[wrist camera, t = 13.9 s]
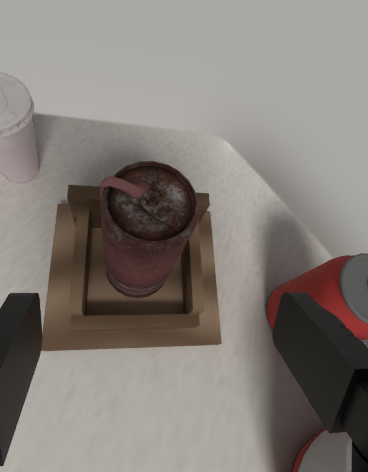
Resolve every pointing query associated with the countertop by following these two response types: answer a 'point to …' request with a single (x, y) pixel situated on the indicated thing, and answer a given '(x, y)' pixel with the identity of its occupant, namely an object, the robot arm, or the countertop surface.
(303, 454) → the citrus juicer
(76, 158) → the countertop surface
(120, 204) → the can
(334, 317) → the robot arm
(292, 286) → the beer can
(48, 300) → the dock
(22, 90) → the smoothie
